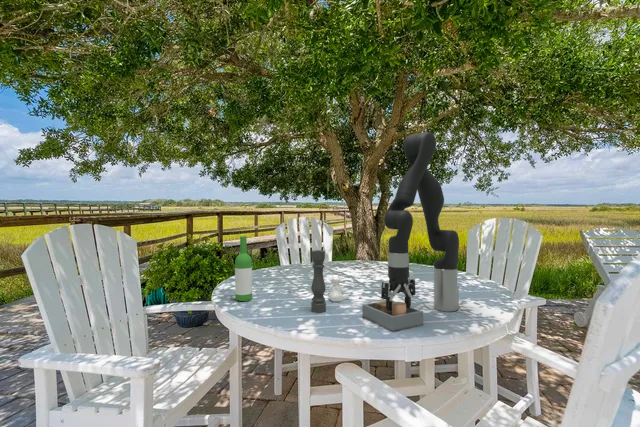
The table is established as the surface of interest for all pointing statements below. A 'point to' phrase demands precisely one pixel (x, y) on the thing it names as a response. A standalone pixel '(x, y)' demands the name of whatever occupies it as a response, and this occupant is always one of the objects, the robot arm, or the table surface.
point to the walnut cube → (383, 307)
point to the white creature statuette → (336, 290)
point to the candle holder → (318, 282)
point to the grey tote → (393, 317)
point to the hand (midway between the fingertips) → (398, 308)
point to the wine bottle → (243, 273)
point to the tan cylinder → (398, 308)
